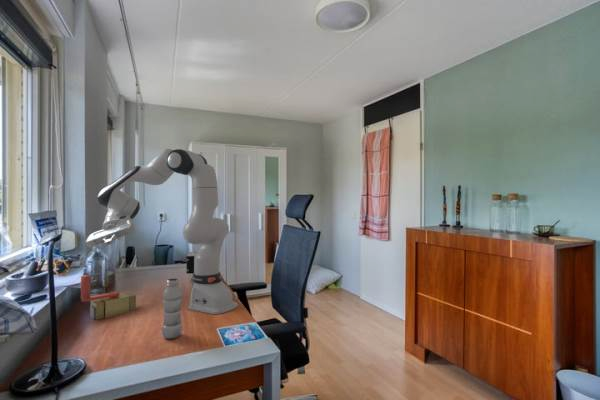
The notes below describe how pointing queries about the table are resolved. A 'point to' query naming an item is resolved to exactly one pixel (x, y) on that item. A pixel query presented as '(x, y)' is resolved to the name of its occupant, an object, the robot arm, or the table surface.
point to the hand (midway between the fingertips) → (108, 243)
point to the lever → (86, 290)
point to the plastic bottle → (172, 310)
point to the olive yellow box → (112, 305)
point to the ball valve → (190, 264)
